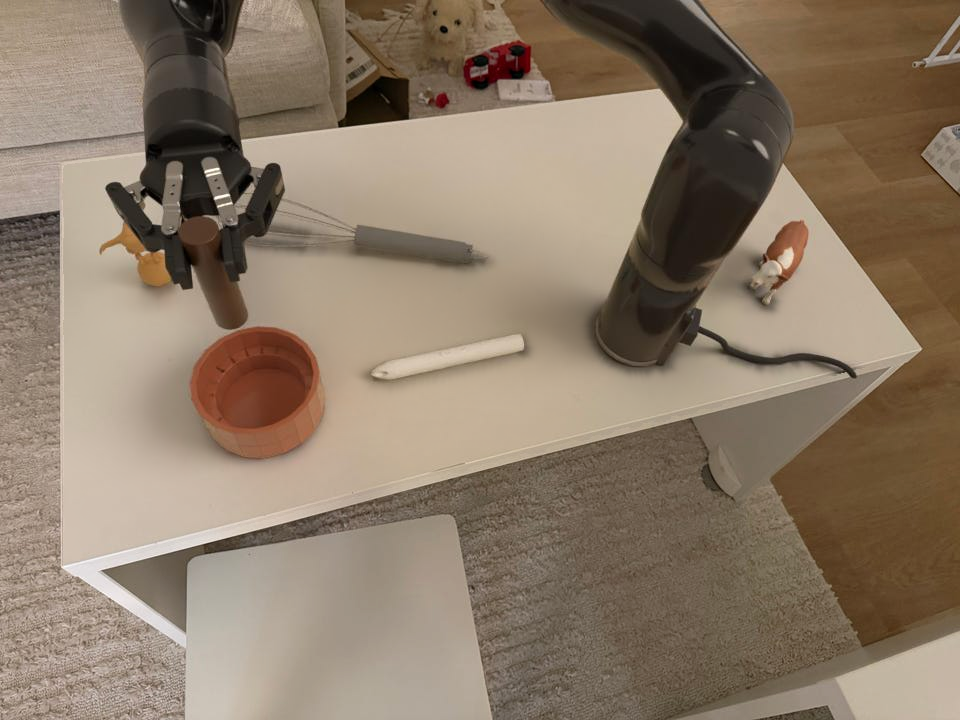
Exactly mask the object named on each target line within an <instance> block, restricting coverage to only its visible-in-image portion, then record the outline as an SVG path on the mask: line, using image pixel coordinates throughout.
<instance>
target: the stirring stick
mask: <svg viewBox="0 0 960 720" xmlns="http://www.w3.org/2000/svg"><path fill="white" fill-rule="evenodd" d="M178 234H179V237H180V240H181V242H182V244H183V247H184V249H185V251H186V254H187V256H188V259H189V261H190V263H191V269H192V270H193V273H194V275H195V278H196V279H197V281H198V282H197V283H198V285H199V287H200V289H201V291H202V293H203V296H204V298H205V301H206V303H207V305H208V308H209V310H210V312H211V314H212V317H213V320H214V322H215V324H216V325H217V326H218V327H219V328H221V329H222V330H227V331H233V330H237V329H239V328H241V327H243V326H244V325H245V324H246V323H247V321H248V319H249V311H248V307H247V305H246V302H245V299H244V296H243V294H242V290H241V288H240V284H239V281H238V282H232V283H230V280H229V278H228V275H227V272H226V269H225V265H224V259H223V251H222V243H221V233H220V226H219V224H218V223H217V222H216V220H214V219H213V218H211V217H209V216H205V215H204V216H197V217H193V218H190V219H188V220H186V221H185V222H183V223H182V225H181V226H180V228H179V231H178Z"/></svg>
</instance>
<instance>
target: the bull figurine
mask: <svg viewBox="0 0 960 720" xmlns="http://www.w3.org/2000/svg"><path fill="white" fill-rule="evenodd" d="M808 240H809V228H808V226H807V225H806V224H805V220H804V219H800V220H799V221H797V220H791V221H789V222H788V223H787V224H785V225H783V226H782V227H781V229H780V230H779V231H778V232H777V234H776V235H775V236H774V240H773V241H772V242H771V243H769V245H768V247H767V249H766V251H765V253H762V260H761V261H760V262H759V263H758V267H759V270H758V272H756V274H755V275H753V276H751V278H750V280H751V283H750V284H749V286H748V287H749V289H750V290H751V291H755V290H757V289H758V288H759V287H760V286H761V285H764V287H765V288H766V287H767V288H768V287H769V286H771V287H770V289H769V291H768V293H766V294H765V296H763V298H762V299H761V302H762V304H763V305H765V306H768V305H769V304H770V302H771V300H772V297H773V295H774V294H776V293H777V292H778V290H779V289H780V288H781V287H782V286H783V284H785V283H786V282H789V280H790V279H791V278H792V277H793V275H794V273H795V271H796V270H797V269H798V267H799V266H800V264H801V262H802V261H803V258H804V252H805V249H806V247H807V244H808Z"/></svg>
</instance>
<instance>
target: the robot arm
mask: <svg viewBox="0 0 960 720" xmlns="http://www.w3.org/2000/svg"><path fill="white" fill-rule="evenodd" d="M539 1H540V3H541V4H542V5H543V6H544V8H545V9H546V10H547V11H548V12H549V13H550V14H551V15H552V16H553V17H554V18H555V19H556V20H557V21H558V22H559V23H560V24H561V25H563V27H566V28H567V29H569V31H572V32H573V33H575V34H576V35H578V36H580V37H582V38H584V39H586V40H588V41H589V42H591V43H594V44H596V45H598V46H600V47H602V48H604V49H606V50H608V51H610V52H612V53H615V54H617V55H619V56H620V57H623V58H624V59H625V60H627V61H630V62H631V63H632V64H634V65H635V66H636V67H638V68H639V69H641V70H642V71H643V72H644V73H645V74H646V75H647V76H648V77H649V78H650V79H651V80H652V81H653V82H654V84H655V85H656V86H657V88H658V89H659V90H660V91H661V92H662V94H663V95H664V96H665V97H666V98H667V100H668V101H669V103H670V104H671V105H672V107H673V108H674V110H675V111H676V113H677V115H678V116H679V118H680V119H681V121H682V124H681V125H680V127H679V129H678V130H677V132H676V133H675V135H674V136H673V138H672V140H671V141H670V143H669V145H668V147H667V149H666V150H665V153H664V155H663V157H662V159H661V162H660V164H659V167H658V169H657V171H656V173H655V176H654V179H653V182H652V184H651V186H650V189H649V191H648V193H647V196H646V199H645V201H644V204H643V206H642V209H641V213H640V220H639V222H638V224H637V227H636V229H635V230H634V232H633V233H634V234H633V236H632V238H631V241H630V243H629V245H628V248H627V250H626V252H625V254H624V257H623V260H622V262H621V264H620V266H619V269H618V271H617V274H616V275H615V278H614V281H613V283H612V285H611V288H610V290H609V292H608V295H607V297H606V298H605V299H606V300H605V302H604V304H603V307H602V309H601V310H600V312H599V314H598V316H597V319H596V321H595V325H594V332H595V337H596V339H597V342H598V344H599V346H600V348H601V349H602V350H603V352H605V353H606V354H607V355H608V356H610V358H612V359H614V360H615V361H617V362H619V363H621V364H624V365H627V366H631V367H648V366H652V365H655V364H656V365H660V366H665V365H666V363H667V362H668V361H669V359H670V357H671V355H672V354H673V352H675V349H676V348H677V346H678V345H679V344H682V345H686V346H689V347H691V346H692V345H693V343H694V341H695V340H696V339H697V337H698V335H699V334H700V335H703V336H705V337H707V338H709V339H711V340H713V341H715V342H716V343H718V344H719V345H720V346H721V349H722V350H723V351H725V352H727V353H728V354H729V355H732V356H734V357H737V358H739V359H743V360H745V361H750V362H754V363H758V364H759V363H760V364H766V365H781V364H785V363H789V362H793V361H798V360H808V361H813V362H818V363H819V362H820V363H824V364H829V365H830V366H831V365H832V366H834V367H837V368H839V369H841V370H842V371H844V372H846V374H848V376H849V377H850V378H851V379H857V378H858V376H857V373H856V371H855V370H854V369H853V368H852V367H851V366H850V365H848V364H847V363H845V362H843V361H841V360H839V359H836V358H834V357H829V356H826V355H821V354H820V355H819V354H814V353H806V352H798V353H792V354H788V355H784V356H778V357H766V356H760V355H754V354H751V353H747V352H744V351H741V350H739V349H736V348H734V347H732V346H730V345H729V343H728V341H727V339H726V338H724V337H722V336H721V335H719V334H718V333H715V332H713V331H712V330H709V329H708V328H705V327H703V326H701V318H702V314H703V309H701V308H698V307H697V304H698V303H699V301H700V300H701V298H702V297H703V294H704V293H705V291H706V290H707V288H708V287H709V285H710V283H711V281H712V280H713V279H714V277H715V275H716V274H717V272H718V271H719V269H720V267H721V266H722V264H723V262H725V260H726V258H727V257H728V256H730V254H731V253H732V252H733V251H734V250H735V248H736V246H737V245H738V243H739V242H740V240H741V239H742V237H743V236H744V235H745V233H746V231H747V230H748V228H749V227H750V225H751V223H752V222H753V221H754V219H755V217H756V216H757V214H758V213H759V211H760V210H761V209H762V206H763V204H764V203H765V201H766V200H767V198H768V196H769V195H770V192H771V191H772V189H773V187H774V185H775V182H776V180H777V177H778V175H779V174H780V171H781V169H782V166H783V164H784V162H785V160H786V157H787V155H788V153H789V151H790V148H791V146H792V144H793V139H794V133H795V120H794V113H793V110H792V107H791V105H790V103H789V101H788V99H787V98H786V96H785V94H783V92H782V90H781V89H780V88H779V87H778V86H777V84H775V82H774V81H773V80H772V79H771V78H770V76H768V74H766V72H764V70H763V69H762V68H761V67H760V66H759V65H758V64H757V63H756V62H755V61H754V59H752V58H751V57H750V56H749V55H748V54H747V52H746V51H744V49H743V48H741V46H740V45H739V44H738V43H737V42H736V41H735V40H734V39H733V38H732V37H731V35H729V34H728V32H726V30H725V29H723V27H722V26H721V25H720V24H719V23H718V22H717V20H716V19H715V18H714V17H713V16H712V14H711V13H710V12H709V11H708V10H707V8H706V7H705V6H704V4H703V3H702V1H700V0H539ZM244 3H245V0H118V8H119V9H118V10H119V13H120V17H121V21H122V23H123V27H124V29H125V31H126V33H127V35H128V38H129V39H130V42H131V43H132V45H133V47H134V49H135V51H136V53H137V54H138V57H139V58H140V60H141V62H142V64H143V78H144V86H143V93H142V118H143V133H144V134H143V136H144V137H143V139H144V154H145V156H144V157H145V165H144V168H143V169H142V170H141V171H140V173H139V180H138V181H135V182H132V183H130V184H128V185H126V186H123V185H122V183H121V182H118V181H112V182H109V183H108V184H106V185H105V188H104V189H105V192H106V194H107V196H108V197H109V200H110V201H111V203H112V206H113V208H114V209H115V211H116V213H117V215H118V216H119V217H120V219H122V221H123V222H125V223H126V224H127V226H128V227H129V228H130V230H131V231H132V232H133V233H134V235H135V236H136V237H137V238H138V240H139V241H140V242H141V244H142V245H143V246H144V247H145V249H146V250H147V251H146V252H147V253H150V252H152V253H154V252H160V251H161V250H162V251H164V252H163V253H164V254H165V267H166V270H167V272H168V274H169V276H170V278H171V281H172V283H173V284H174V285H180V286H179V287H180V288H181V290H182V291H186V290H193V289H194V282H193V271H192V270H193V269H192V266H191V263H190V261H189V259H188V256H187V254H186V251H185V249H184V247H183V244H182V242H181V240H180V237H179V234H178V231H179V228H180V226H181V225H182V223H183V222H185V221H186V220H188V219H190V218H193V217H197V216H204V217H205V216H207V217H209V216H210V217H211V216H212V217H216V216H217V217H218V215H219V219H220V220H221V222H222V223H221V222H220V223H221V224H222V228H223V229H221V228H219V230H220V233H221V243H222V251H223V259H224V265H225V269H226V272H227V275H228V278H229V280H230V283H232V282H238V283H239V282H241V277H240V275H242V274H246V273H247V271H248V262H247V261H248V260H247V256H246V248H245V242H246V241H247V240H246V239H249V238H250V237H254V238H264V236H266V235H267V234H268V233H267V232H269V230H270V229H269V228H270V226H271V224H272V222H273V220H274V217H275V215H276V214H275V213H277V211H276V210H278V209H279V206H280V203H281V202H282V200H283V199H282V198H283V197H284V194H285V193H286V187H285V182H284V176H283V173H282V168H281V166H280V164H279V163H277V162H269V163H267V164H266V165H265V166H264V168H260V167H256V166H252V164H251V162H250V161H249V160H248V159H247V157H245V155H244V149H243V142H242V136H241V130H240V116H239V115H238V111H237V105H236V101H235V98H234V95H233V93H232V90H231V87H230V81H229V75H228V66H227V61H226V57H227V56H228V55H229V54H230V52H231V51H232V49H233V47H234V43H235V40H236V37H237V32H238V28H239V27H238V26H239V21H240V17H241V13H242V9H243V6H244ZM252 184H253V188H254V190H253V192H252V193H253V194H251V196H250V199H249V201H248V203H247V205H246V206H247V207H245V208H246V209H244V212H242V213H239V214H238V213H237V211H236V208H235V207H234V206H236V204H237V203H238V201H239V200H240V199H241V197H242V196H243V195H245V194H244V193H246V192H247V190H248V189H249V187H250V186H251V185H252ZM148 197H149V198H150V199H152V200H153V201H154V202H155V203H157V204H158V205H160V206H161V208H162V212H163V214H162V222H161V224H155V223H153V222H152V220H151V219H150V217H148V215H147V213H145V211H144V209H146V202H145V200H146V198H148ZM281 199H282V200H281Z"/></svg>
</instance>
